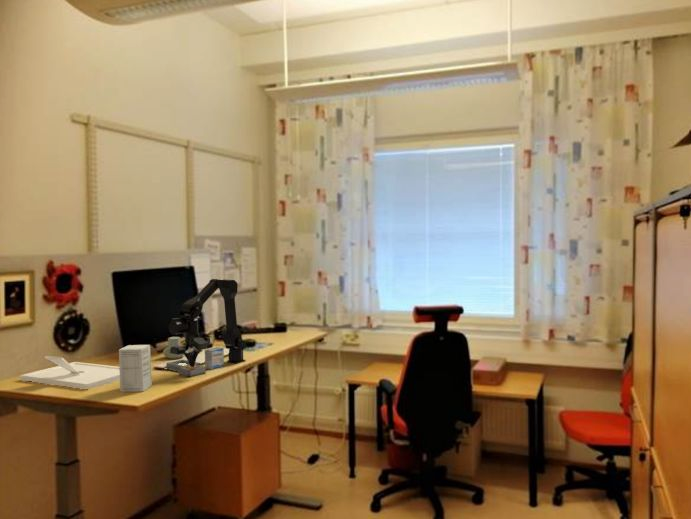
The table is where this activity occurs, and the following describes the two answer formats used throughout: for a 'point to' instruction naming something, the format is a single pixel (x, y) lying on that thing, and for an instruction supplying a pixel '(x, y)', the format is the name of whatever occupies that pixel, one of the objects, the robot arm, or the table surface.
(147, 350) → the supplement box
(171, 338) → the air freshener
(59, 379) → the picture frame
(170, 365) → the grey square tray
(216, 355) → the medicine box
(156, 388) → the table surface
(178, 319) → the robot arm
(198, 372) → the button housing
